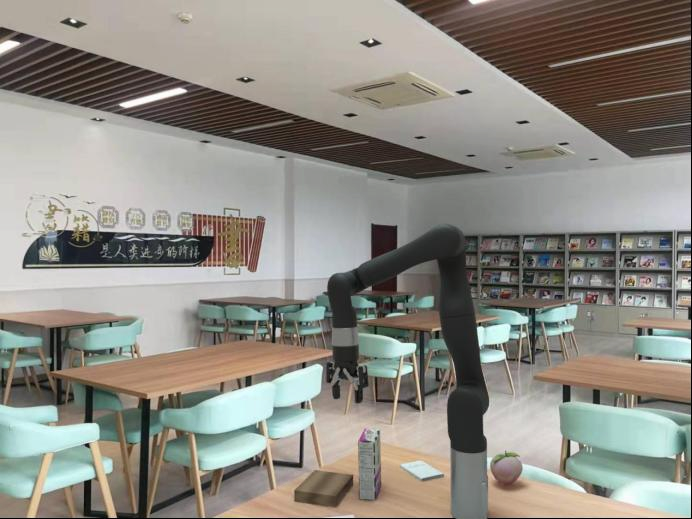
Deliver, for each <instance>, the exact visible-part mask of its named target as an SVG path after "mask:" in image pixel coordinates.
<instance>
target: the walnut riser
mask: <svg viewBox="0 0 692 519" xmlns="http://www.w3.org/2000/svg"><path fill="white" fill-rule="evenodd" d="M353 486H354V474H350V473H349V474H348V473H342V472H335V471H326V470H320V469H319V470H317V469H314V470H313V472H311V473H310V475H308V476H307V477H306V478H305V479H304V480H303V481H302V482H301V483H300V484H299V485H298V486H297V487H296V488H295V489H294V490H293V492H294V494H293V496H294V497H293V498H294V502H297V503H304V504H309V505H316V506H323V507H329V508H331V507H332V508H337V507H338V505H339V504H340V503H341V501H342V500H343V499H344V498H345V496H346V495H347V494H348V493H349V491H350V490H351V489H352V487H353ZM350 488H351V489H350ZM349 489H350V490H349ZM346 493H347V494H346ZM343 497H344V498H343ZM342 498H343V499H342ZM339 502H340V503H339Z"/></svg>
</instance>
